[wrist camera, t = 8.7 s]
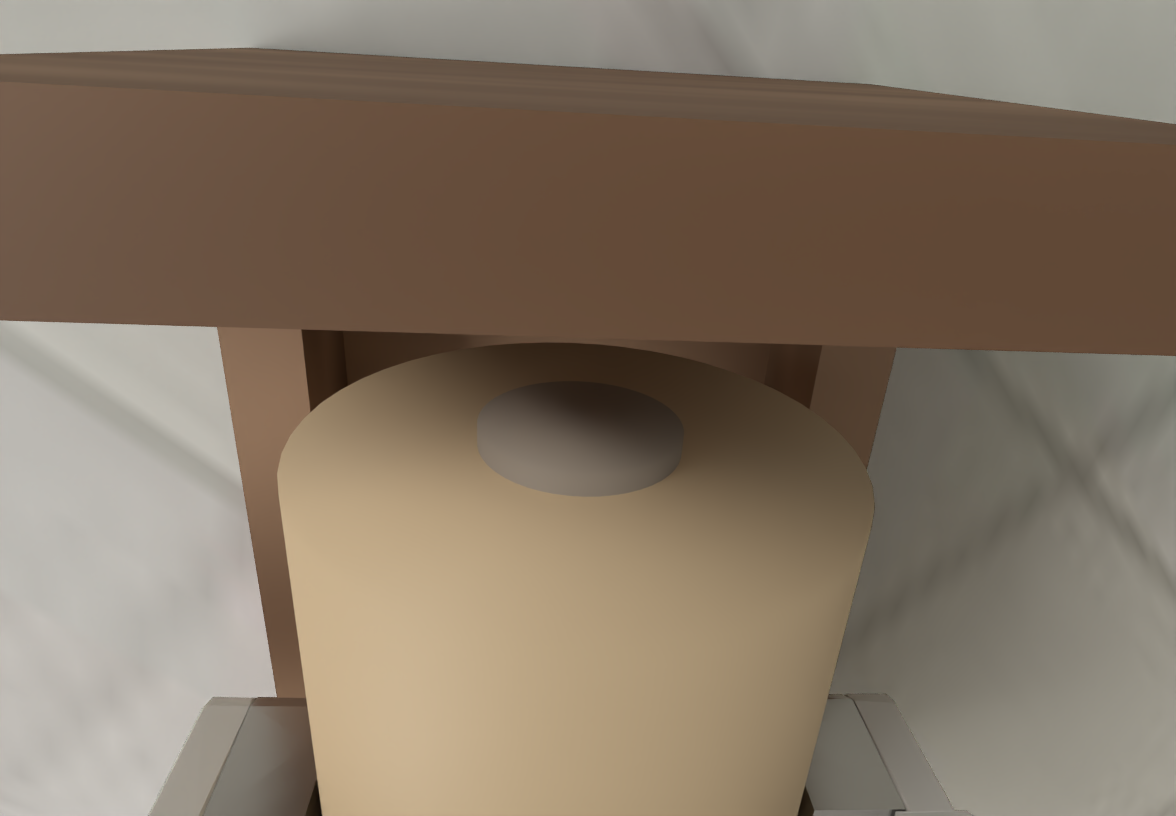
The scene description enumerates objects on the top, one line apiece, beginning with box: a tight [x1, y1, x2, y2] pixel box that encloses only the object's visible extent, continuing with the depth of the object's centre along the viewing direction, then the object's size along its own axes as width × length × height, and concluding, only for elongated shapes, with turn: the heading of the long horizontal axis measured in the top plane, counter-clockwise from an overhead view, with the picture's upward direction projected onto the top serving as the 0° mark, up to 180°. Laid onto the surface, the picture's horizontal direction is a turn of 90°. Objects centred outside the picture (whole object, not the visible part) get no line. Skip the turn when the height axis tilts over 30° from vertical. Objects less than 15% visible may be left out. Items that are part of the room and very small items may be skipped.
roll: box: [277, 342, 875, 816], centre depth 9 cm, size 9×5×5 cm, turn 177°
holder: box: [0, 48, 1176, 698], centre depth 11 cm, size 14×9×8 cm, turn 177°
